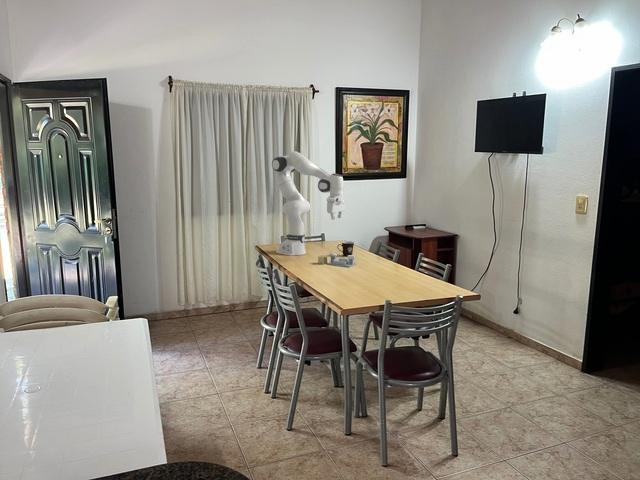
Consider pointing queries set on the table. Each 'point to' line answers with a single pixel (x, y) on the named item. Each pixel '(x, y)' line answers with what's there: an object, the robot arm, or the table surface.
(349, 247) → the coffee mug
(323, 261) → the coupler
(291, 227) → the robot arm
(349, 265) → the shaft rig
